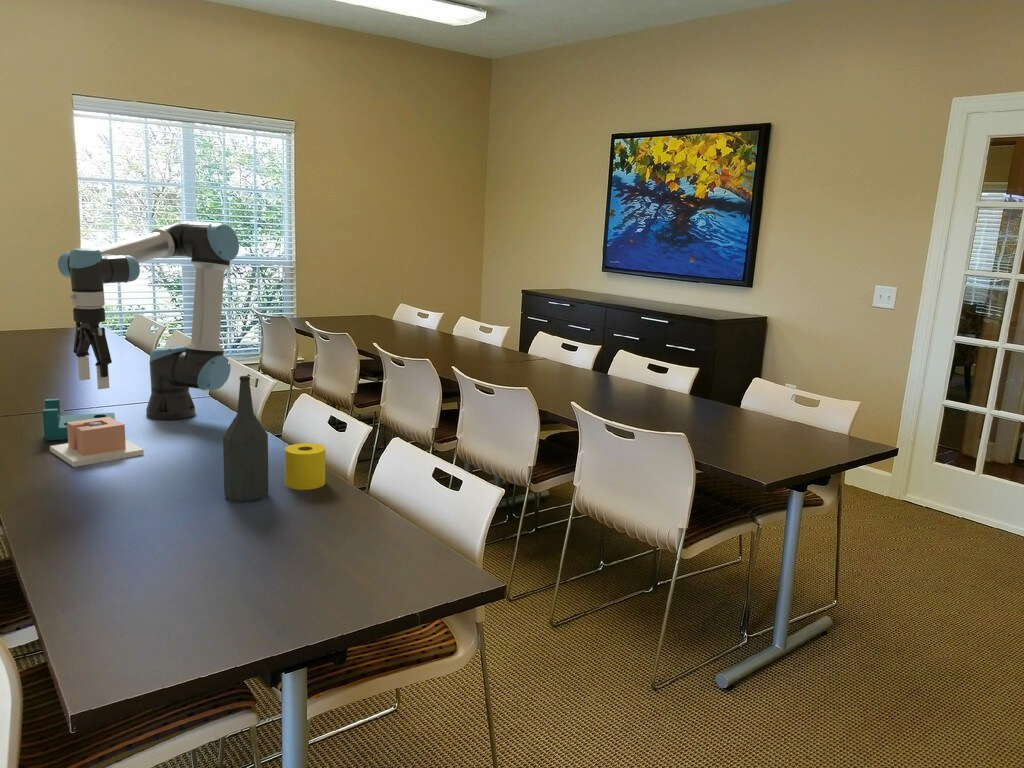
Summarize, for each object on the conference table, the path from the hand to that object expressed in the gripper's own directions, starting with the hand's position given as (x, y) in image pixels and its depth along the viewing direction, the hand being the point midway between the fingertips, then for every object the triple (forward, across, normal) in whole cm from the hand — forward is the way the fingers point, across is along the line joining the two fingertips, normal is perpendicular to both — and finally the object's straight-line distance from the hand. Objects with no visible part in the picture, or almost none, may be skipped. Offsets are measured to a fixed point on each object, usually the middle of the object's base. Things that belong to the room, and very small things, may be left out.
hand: (93, 384), depth 211 cm
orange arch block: (+18, 0, 0) cm, 18 cm away
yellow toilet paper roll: (+20, +57, +30) cm, 67 cm away
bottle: (+20, +56, +14) cm, 61 cm away
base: (+20, 0, 0) cm, 20 cm away
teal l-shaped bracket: (+20, -20, +3) cm, 28 cm away
